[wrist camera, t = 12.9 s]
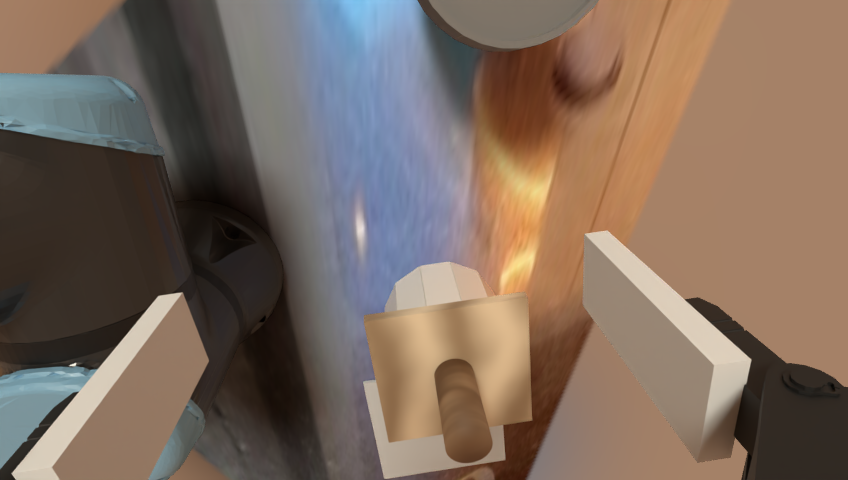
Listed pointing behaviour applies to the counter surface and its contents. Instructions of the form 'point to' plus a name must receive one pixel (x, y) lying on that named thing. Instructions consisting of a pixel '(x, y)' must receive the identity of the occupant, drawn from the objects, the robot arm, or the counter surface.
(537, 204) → the counter surface
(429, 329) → the oak cover
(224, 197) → the counter surface
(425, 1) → the reusable coffee cup
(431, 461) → the grey mat
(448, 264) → the ceramic bowl
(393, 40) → the counter surface
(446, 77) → the counter surface
